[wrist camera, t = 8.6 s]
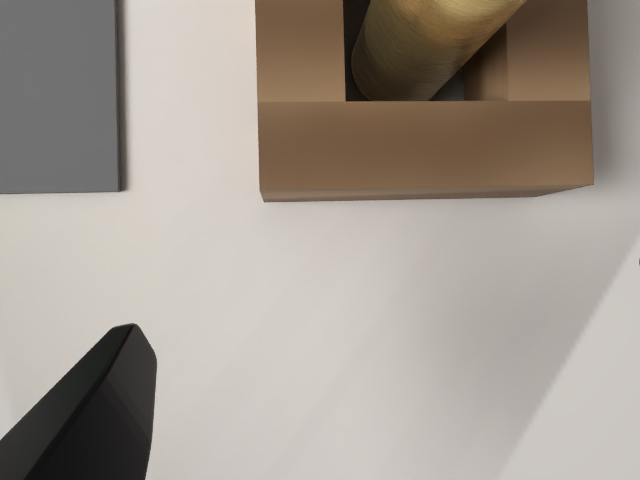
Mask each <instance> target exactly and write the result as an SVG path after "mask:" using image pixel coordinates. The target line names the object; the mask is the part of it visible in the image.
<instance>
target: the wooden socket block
mask: <svg viewBox="0 0 640 480" xmlns="http://www.w3.org/2000/svg"><path fill="white" fill-rule="evenodd" d="M255 14H256V56H257V98H258V141H259V183H260V192H261V195H262V198H263V201H264V202H300V201H353V200H407V199H460V198H513V197H537V196H542V195H546V194H551V193H556V192H561V191H565V190H570V189H575V188H580V187H584V186H589V185H594V182H593V155H592V127H591V99H590V71H589V43H588V15H587V0H527V1H526V2H525V3H524V4H523V5H522V6H521V7H520V8H519V9H518V10H517V11H516V12H515V13H514V14H513V15H512V16H511V17H510V18H509V19H508V20H507V21H506V22H505V23H504V24H503V25H502V26H501V27H500V28H499V29H498V30H497V31H496V32H495V33H494V34H493V35H492V36H491V37H490V38H489V39H488V40H487V41H486V42H485V43H484V45H483V46H482V47H481V48H480V49H479V50H478V51H477V52H476V53H475V54H474V55H473V56H472V57H471V58H470V59H469V60H468V61H467V62H466V63H465V64H464V65H463V73H464V101H347V102H346V100H345V63H344V26H343V0H255Z"/></svg>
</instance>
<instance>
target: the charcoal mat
mask: <svg viewBox="0 0 640 480" xmlns="http://www.w3.org/2000/svg"><path fill="white" fill-rule="evenodd" d="M86 192H120V149H119V95H118V42H117V0H0V194H27V193H86Z"/></svg>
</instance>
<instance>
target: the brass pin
mask: <svg viewBox="0 0 640 480" xmlns="http://www.w3.org/2000/svg"><path fill="white" fill-rule="evenodd" d="M526 1H527V0H371V1H370V4H369V7H368V10H367V13H366V15H365V18H364V21H363V24H362V27H361V29H360V32H359V35H358V38H357V41H356V43H355V46H354V49H353V53H352V60H351V66H352V73H353V77H354V80H355V82H356V84H357V87H358V88H359V90H360V91H361V93H362V94H363V95H364V96H365V97H366V98H367V99H368V100H369V101H428V100H429V99H431V98H432V97H433V95H434V94H435V93H436V92H437V91H438V90H439V89H440V88H441V87H442V86H443V85H444V84H445V83H446V82H447V81H448V80H449V79H450V78H451V77H452V76H453V75H454V74H455V73H456V72H457V71H458V70H459V69H460V68H461V67H462V66H463V65H464V64H465V63H466V62H467V61H468V60H469V59H470V58H471V57H472V56H473V55H474V54H475V53H476V52H477V51H478V50H479V49H480V48H481V47H482V46H483V45H484V43H485V42H486V41H487V40H488V39H489V38H490V37H491V36H492V35H493V34H494V33H495V32H496V31H497V30H498V29H499V28H500V27H501V26H502V25H503V24H504V23H505V22H506V21H507V20H508V19H509V18H510V17H511V16H512V15H513V14H514V13H515V12H516V11H517V10H518V9H519V8H520V7H521V6H522V5H523V4H524V3H525V2H526Z"/></svg>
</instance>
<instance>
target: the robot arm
mask: <svg viewBox="0 0 640 480" xmlns="http://www.w3.org/2000/svg"><path fill="white" fill-rule="evenodd" d="M639 263H640V262H639ZM156 373H157V359H156V355H155V352H154V350H153V349H152V347H151V345H150V344H149V342H148V340H147V338H146V337H145V335H144V333H143V332H142V330H141V328H140V327H139V326H138V325H137V324H134V323H130V324H125V325H120V326H116V327H113V328H112V329H110V330H109V331H108V332H107V333H106V334H105V335H104V336H103V337H102V338H101V339H100V340H99V341H98V342H97V343H96V344H95V345H94V346H93V347H92V348H91V349H90V350H89V351H88V352H87V353H86V354H85V355H84V356H83V357H82V358H81V359H80V360H79V362H78V363H77V364H76V365H75V366H74V367H73V368H72V369H71V370H70V371H69V372H68V373H67V374H66V375H65V376H64V377H63V378H62V379H61V380H60V381H59V382H58V383H57V384H56V385H55V386H54V387H53V388H52V389H51V390H50V391H49V392H48V393H47V394H46V395H45V396H44V397H43V398H42V399H41V400H40V401H39V402H38V403H37V404H36V405H35V406H34V407H33V408H32V409H31V410H30V411H29V412H28V413H27V414H26V415H25V416H24V417H23V418H22V419H21V420H20V421H19V422H18V423H17V424H16V425H15V426H14V427H13V428H12V429H11V430H10V431H9V432H8V433H7V434H6V435H5V436H4V437H3V438H2V439H1V440H0V480H145V477H146V472H147V466H148V461H149V455H150V449H151V442H152V432H153V419H154V404H155V388H156Z"/></svg>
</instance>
